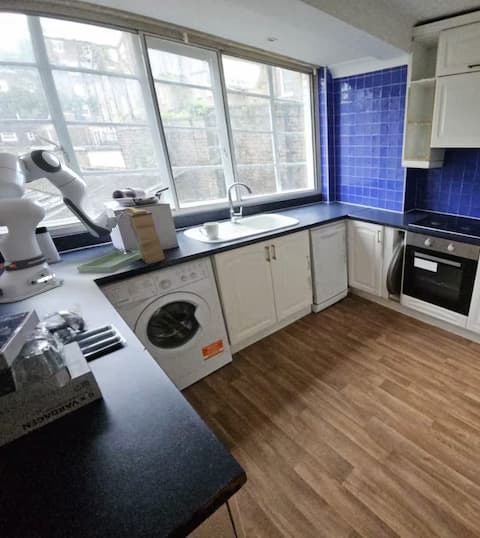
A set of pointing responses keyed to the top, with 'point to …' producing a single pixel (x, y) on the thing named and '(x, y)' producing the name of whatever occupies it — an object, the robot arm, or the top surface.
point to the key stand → (146, 237)
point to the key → (136, 211)
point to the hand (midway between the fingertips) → (130, 214)
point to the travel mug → (47, 245)
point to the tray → (110, 262)
